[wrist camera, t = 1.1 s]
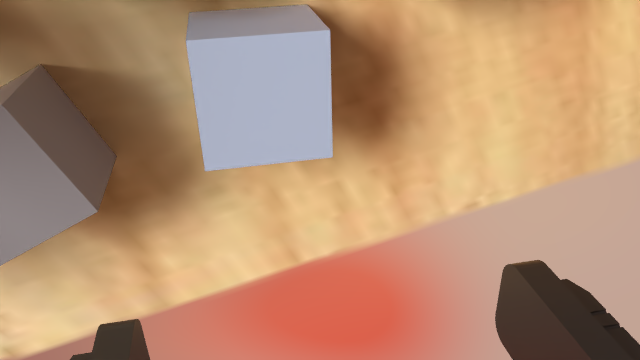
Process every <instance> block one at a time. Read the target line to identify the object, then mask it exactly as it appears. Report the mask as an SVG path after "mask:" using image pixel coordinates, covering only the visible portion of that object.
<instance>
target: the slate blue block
mask: <svg viewBox="0 0 640 360" xmlns="http://www.w3.org/2000/svg"><path fill="white" fill-rule="evenodd" d="M186 46H187V52H188V59H189V66H190V73H191V79H192V86H193V93H194V100H195V106H196V113H197V120H198V127H199V133H200V140H201V147H202V154H203V160H204V167H205V171H212V170H221V169H230V168H240V167H249V166H258V165H267V164H276V163H285V162H294V161H303V160H312V159H321V158H330V157H333V147H332V97H331V46H330V29H329V28H328V27H327V26H326V25H325V24H324V23H323V22H322V20H321V19H320V18H319V17H318V16H317V15H316V14H315V13H314V12H313V11H312V9H311V8H310V7H309V6H308V5H292V6H277V7H262V8H246V9H231V10H216V11H201V12H189V18H188V26H187V35H186Z"/></svg>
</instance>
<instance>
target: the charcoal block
mask: <svg viewBox="0 0 640 360" xmlns="http://www.w3.org/2000/svg"><path fill="white" fill-rule="evenodd" d="M116 157H117V156H116V155H115V154H114V152H113V151H112V150H111V149H110V148H109V146H108V145H107V144H106V143H105V142H104V140H103V139H102V138H101V137H100V135H99V134H98V133H97V132H96V131H95V129H94V128H93V127H92V126H91V124H90V123H89V122H88V121H87V120H86V118H85V117H84V116H83V115H82V113H81V112H80V111H79V110H78V109H77V107H76V106H75V105H74V104H73V103H72V101H71V100H70V99H69V98H68V96H67V95H66V94H65V93H64V92H63V90H62V89H61V88H60V87H59V85H58V84H57V83H56V82H55V81H54V79H53V78H52V77H51V76H50V74H49V73H48V72H47V71H46V70H45V68H44V67H43V66H42V65H41V64H40V65H38V66H36V67H35V68H33V69H31V70H30V71H28V72H26V73H24V74H23V75H21V76H19V77H18V78H16V79H14V80H12V81H11V82H9V83H7V84H6V85H4V86H2V87H0V266H1V265H3V264H4V263H6V262H8V261H10V260H12V259H13V258H15V257H17V256H19V255H21V254H22V253H24V252H26V251H28V250H30V249H31V248H33V247H35V246H37V245H39V244H40V243H42V242H44V241H46V240H48V239H49V238H51V237H53V236H55V235H57V234H58V233H60V232H62V231H64V230H66V229H67V228H69V227H71V226H73V225H75V224H76V223H78V222H80V221H82V220H84V219H86V218H87V217H89V216H91V215H93V214H95V213H96V212H98V210H99V207H100V204H101V201H102V198H103V195H104V192H105V189H106V186H107V184H108V181H109V178H110V175H111V172H112V169H113V166H114V163H115V160H116Z"/></svg>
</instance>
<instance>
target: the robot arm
mask: <svg viewBox="0 0 640 360" xmlns="http://www.w3.org/2000/svg"><path fill="white" fill-rule="evenodd" d="M495 321H496V328H497V332H498V335H499V338H500V340H501V342H502V344H503V345H504V347H505V348H506V350H507V352H508V353H509V354H510V356H511V358H512V359H513V360H640V345H639V344H638V343H637V341H636V340H635V339H634V338H633V337H631V335H630V334H629V333H628V332H627V331H626V330H625V329H624V328H623V327H620V326H619V323H618V322H617V321H616V320H615V319H614V317H612V316H611V314H610V313H606V309H605V308H604V307H603V306H602V305H601V304H600V303H599V302H598V301H597V300H596V299H595V298H594V297H593V296H592V295H591V293H590V292H588V291H586V290H584V289H583V288H581V287H580V286H578V285H576V284H575V283H573V282H571V281H570V280H568V279H563V280H560V279H559V278H558V277H557V276H556V275H555V274H554V273H553V272H552V270H551V269H550V268H549V267H548V266H547V265H546V264H545V263H544V262H542V261H540V260H534V261H528V262H521V263H514V264H508V265H506V266H505V267H504V269H503V273H502V279H501V285H500V291H499V297H498V303H497V310H496V317H495ZM70 360H150V357H149V354H148V350H147V346H146V342H145V338H144V334H143V330H142V326H141V323H140V321H139V320H138V319H134V320H127V321H121V322H114V323H107V324H101V325H100V326H99V327H98V330H97V334H96V338H95V342H94V346H93V350H92V352H91V353H85V354H78V355H73V356H72V358H71V359H70Z"/></svg>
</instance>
